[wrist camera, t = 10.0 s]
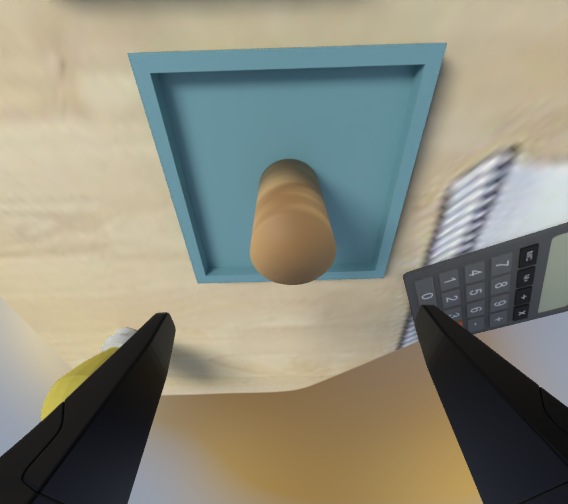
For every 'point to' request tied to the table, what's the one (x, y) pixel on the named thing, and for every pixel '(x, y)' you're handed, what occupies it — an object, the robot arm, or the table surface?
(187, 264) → the table surface
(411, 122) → the tray
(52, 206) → the table surface
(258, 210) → the wooden peg
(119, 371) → the robot arm
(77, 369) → the light bulb
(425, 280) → the calculator
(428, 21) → the table surface
